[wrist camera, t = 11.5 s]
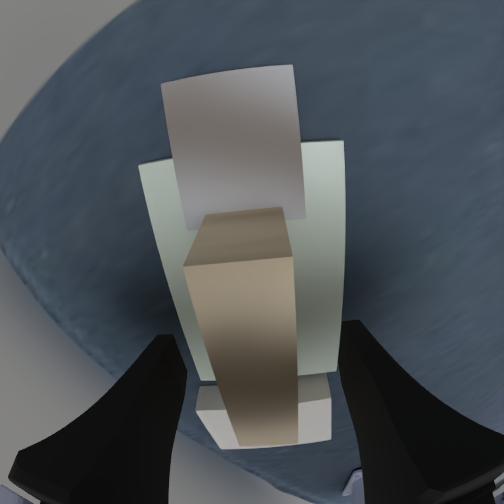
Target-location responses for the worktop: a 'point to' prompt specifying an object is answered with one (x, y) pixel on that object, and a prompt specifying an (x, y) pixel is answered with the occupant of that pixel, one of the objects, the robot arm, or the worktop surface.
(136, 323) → the worktop surface
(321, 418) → the tile
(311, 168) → the pad
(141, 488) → the robot arm
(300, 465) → the worktop surface
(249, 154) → the wooden handled scraper
